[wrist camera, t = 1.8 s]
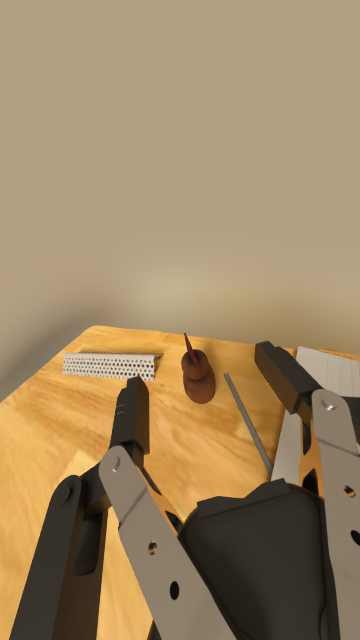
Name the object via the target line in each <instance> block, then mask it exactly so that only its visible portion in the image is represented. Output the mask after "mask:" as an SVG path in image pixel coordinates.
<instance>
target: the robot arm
mask: <svg viewBox="0 0 360 640" xmlns="http://www.w3.org/2000/svg"><path fill="white" fill-rule="evenodd" d="M255 363H256V365H257V367H258V369H259V370H260V371H261V373H262V374H263V376H264V377H265V379H266V380H267V382H268V383H269V385H270V386H271V387H272V389H273V390H274V392H275V393H276V395H277V396H278V398H279V399H280V401H281V402H282V403H283V405H284V406H285V408H286V409H287V411H288V412H289V414H290V415H292V414H296V413H297V414H298V415H299V417H300V418H301V419H300V437H301V459H300V464H299V486H298V485H296V484H292V483H287V482H286V481H285V479H284V478H280V479H277V480H273V481H270V482H266V483H263V484H261V485H260V486H259V487H257V488H256V489H255V490H254V491H252V492H251V493H250V494H249V495H247V496H246V497H245V498H232V497H222V496H217V497H213V498H210V499H206V500H203V501H199V502H197V506H198V507H197V508H195V509H194V510H193V511H192V512H191V513H190V515H189V516H188V517H187V519H186V520H185V522H183V520H182V519H181V517H180V516H179V514H178V513H177V511H176V510H175V508H174V507H173V506H172V504H171V503H170V502H169V500H168V499H167V498H166V497H165V496H164V494H163V493H162V491H161V490H160V488H159V487H158V485H157V484H156V482H155V481H154V479H153V478H152V476H151V475H150V473H149V472H148V470H147V469H146V467H145V466H144V455H146V454H150V447H149V392H148V388H147V386H146V385H145V383H144V381H143V380H142V378H141V376H136V377H132V378H129V379H128V380H127V387H126V388H124V389H122V390H121V392H120V394H119V396H118V398H117V404H116V410H115V416H114V422H113V429H112V435H111V441H110V446H109V449H108V451H107V452H106V453H105V455H104V456H103V458H102V460H101V461H100V462H99V463H98V464H97V465H95V466H94V467H92V468H91V469H90V470H88V471H87V472H85V473H84V474H82V475H81V476H77V475H70V476H68V477H67V478H65V479H64V480H63V481H62V482H61V483H60V484H59V485H58V486H57V488H56V489H55V491H54V493H53V495H52V497H51V500H50V503H49V506H48V510H47V513H46V516H45V520H44V523H43V527H42V530H41V533H40V537H39V540H38V543H37V547H36V550H35V554H34V557H33V560H32V564H31V567H30V570H29V574H28V577H27V581H26V584H25V587H24V591H23V594H22V597H21V601H20V604H19V608H18V611H17V614H16V618H15V621H14V624H13V628H12V631H11V635H10V638H9V640H96V636H97V625H98V615H99V604H100V593H101V582H102V572H103V561H104V550H105V539H106V529H107V518H108V509H109V508H110V507H111V506H113V509H114V511H115V513H116V516H117V518H118V521H119V526H118V532H119V536H120V539H121V542H122V544H123V547H124V549H125V552H126V554H127V557H128V559H129V561H130V564H131V566H132V569H133V571H134V573H135V576H136V578H137V581H138V583H139V585H140V588H141V590H142V593H143V595H144V597H145V600H146V602H147V605H148V607H149V609H150V612H151V614H152V617H153V621H152V625H151V628H150V631H149V635H148V638H147V640H360V453H359V450H358V446H357V443H358V444H359V446H360V397H347V396H339V395H338V394H336V393H334V392H332V391H329V390H326V389H324V388H323V387H322V386H321V385H320V384H319V383H318V382H317V381H316V380H315V379H314V378H313V377H312V376H311V375H310V374H309V373H308V372H307V371H306V370H305V369H304V368H303V367H302V366H301V365H299V363H298V362H297V361H296V360H295V359H294V358H293V357H292V356H291V354H290V353H289V352H288V351H286V350H284V349H283V348H281V347H279V346H278V347H274V346H273V345H272V344H271V343H270V342H269V341H265V342H261V343H258V344H256V346H255Z"/></svg>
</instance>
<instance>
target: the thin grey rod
mask: <svg viewBox="0 0 360 640" xmlns="http://www.w3.org/2000/svg"><path fill="white" fill-rule="evenodd" d="M224 376H225V378H226V380H227V382H228V384H229V387H230V389H231V391H232V393H233V395H234V398H235V400H236V402H237V404H238V406H239V409H240V411H241V413H242V415H243V417H244V420H245V422H246V424H247V426H248V428H249V431H250V433H251V435H252V437H253V439H254V442H255V444H256V446H257V448H258V450H259V453H260V455H261V457H262V459H263V461H264V464H265V466H266V468H267V470H268V472H269V475H270V477H272V472H273V467H272V465H271V463H270V461H269V458H268V456H267V454H266V452H265V450H264V448H263V446H262V444H261V442H260V440H259V438H258V436H257V433H256V431H255V429H254V427H253V425H252V423H251V421H250V419H249V417H248V415H247V413H246V411H245V408H244V406H243V404H242V402H241V400H240V398H239V396H238V394H237V392H236V390H235V388H234V386H233V383H232V381H231V379H230V377H229V375H228V373H227V374H224Z"/></svg>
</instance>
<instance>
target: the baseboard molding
mask: <svg viewBox="0 0 360 640" xmlns="http://www.w3.org/2000/svg"><path fill="white" fill-rule="evenodd" d="M296 361H297V362H298V363H299V365H301V366H302V367H303V368H304V369H305V370H306V371H307V372H308V373H309V374H310V375H311V376H312V377H313V378H314V379H315V380H316V381H317V382H318V383H319V384H320V385H321V386H322V387H323V388H324V389H326V390H329V391H332V392H334V393H336V394H338V395H339V396H347V397H360V363H359V362H358V361H357V360H353V359H348V358H344V357H341V356H336V355H332V354H329V353H324V352H321V351H317V350H313V349H309V348H305V347H301V346H298V350H297V355H296ZM300 419H301V418H300V417H299V415H298V414H297V413H296V414H292V415H290V414H289V412H288V411H287V409H285V414H284V419H283V424H282V429H281V433H280V438H279V443H278V448H277V453H276V458H275V463H274V468H273V472H272V477H271V481H273V480H277V479H280V478H284V479H285V481H286V482H287V483H292V484H296V485H298V486H299V464H300V459H301V437H300ZM357 446H358V450H359V453H360V446H359V444H358V443H357Z"/></svg>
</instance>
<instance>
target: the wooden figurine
mask: <svg viewBox="0 0 360 640" xmlns="http://www.w3.org/2000/svg"><path fill="white" fill-rule="evenodd" d="M184 335H185V340H186V346H187V351H188V352H186V353H185V354H184V356H183V357H182V361H181V365H182V370H183V372H184V374H183V383H184V388H185V392H186V394H187V396H188V397H189V398H190V399H191V400H192V401H194V402H196V403H199V404H204V403H207V402H209V401H210V400H211V399H212V398H213V397H214V394H215V378H214V373H213V370H212V368H211V366H210V365H209V363H208V359H207V357H206V355H205V354H204V353H203V352H202V351H200V350H197V349H192V347H191V344H190V342H189V341H188V338H187V336H186V334H185V333H184Z"/></svg>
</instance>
